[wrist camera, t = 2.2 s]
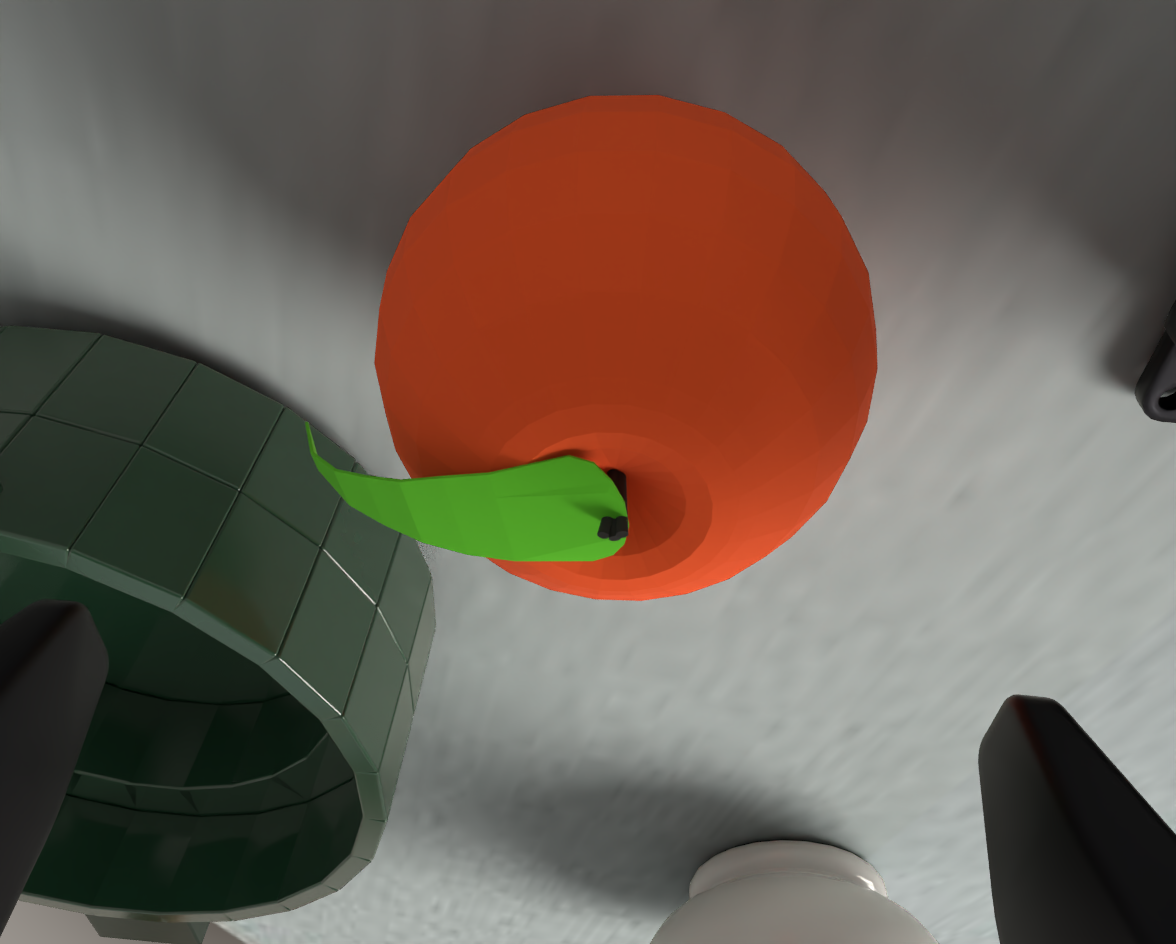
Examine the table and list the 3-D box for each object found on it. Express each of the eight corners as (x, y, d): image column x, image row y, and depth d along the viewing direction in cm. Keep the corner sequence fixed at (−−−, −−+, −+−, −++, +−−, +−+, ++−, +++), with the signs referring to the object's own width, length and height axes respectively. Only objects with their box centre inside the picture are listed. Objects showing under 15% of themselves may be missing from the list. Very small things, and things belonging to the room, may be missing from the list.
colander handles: (-38, 395, 13) (-69, 426, 13) (211, 919, 24) (201, 947, 24) (-219, 380, 13) (-256, 410, 13) (111, 909, 24) (99, 937, 24)
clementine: (433, 425, 19) (336, 728, 14) (311, 73, 15) (96, 313, 9) (841, 387, 18) (912, 706, 12) (843, -12, 13) (956, 210, 8)
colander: (419, 343, 18) (340, 552, 14) (451, 745, 26) (409, 947, 22) (-277, 284, 18) (-564, 472, 14) (-17, 701, 27) (-145, 893, 23)
